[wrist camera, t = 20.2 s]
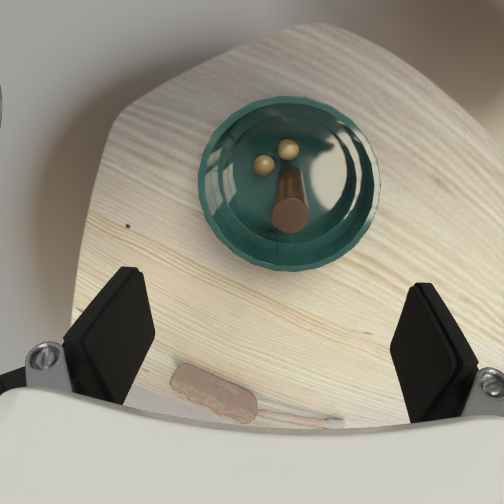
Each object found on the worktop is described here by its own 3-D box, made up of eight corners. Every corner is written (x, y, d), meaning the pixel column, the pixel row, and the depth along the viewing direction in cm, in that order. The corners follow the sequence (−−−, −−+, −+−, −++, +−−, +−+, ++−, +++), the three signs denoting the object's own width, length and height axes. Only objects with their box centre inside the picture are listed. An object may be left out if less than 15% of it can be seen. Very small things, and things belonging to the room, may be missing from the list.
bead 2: (291, 164, 28) (277, 150, 28) (305, 149, 27) (290, 135, 27) (284, 164, 26) (269, 149, 27) (299, 148, 25) (284, 133, 26)
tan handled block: (355, 423, 43) (169, 393, 36) (340, 437, 44) (163, 410, 38) (343, 392, 50) (175, 355, 43) (330, 406, 51) (169, 373, 44)
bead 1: (265, 151, 28) (259, 149, 27) (281, 164, 28) (276, 163, 26) (252, 167, 29) (245, 166, 27) (268, 180, 29) (262, 180, 27)
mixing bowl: (183, 172, 31) (163, 186, 26) (292, 67, 25) (293, 58, 20) (284, 271, 34) (282, 299, 29) (393, 184, 28) (412, 200, 24)
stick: (272, 176, 29) (263, 214, 19) (291, 160, 28) (292, 190, 18) (289, 194, 30) (289, 240, 20) (308, 178, 29) (317, 217, 19)
